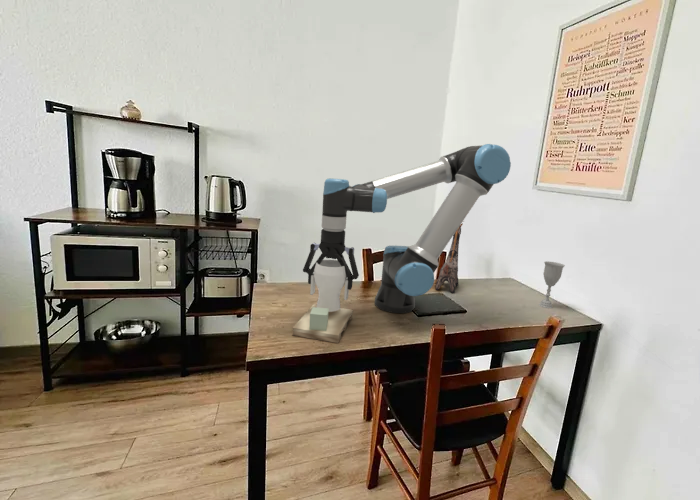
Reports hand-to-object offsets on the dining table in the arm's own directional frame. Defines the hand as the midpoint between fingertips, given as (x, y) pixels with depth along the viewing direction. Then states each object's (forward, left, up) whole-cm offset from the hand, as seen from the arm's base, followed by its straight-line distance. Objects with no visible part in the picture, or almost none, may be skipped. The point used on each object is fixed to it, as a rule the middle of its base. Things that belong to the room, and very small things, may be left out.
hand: (329, 295), depth 115 cm
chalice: (-80, -46, -9) cm, 93 cm away
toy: (-41, -54, -9) cm, 68 cm away
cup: (0, 0, -4) cm, 4 cm away
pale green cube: (0, +10, -6) cm, 12 cm away
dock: (0, +4, -9) cm, 9 cm away
